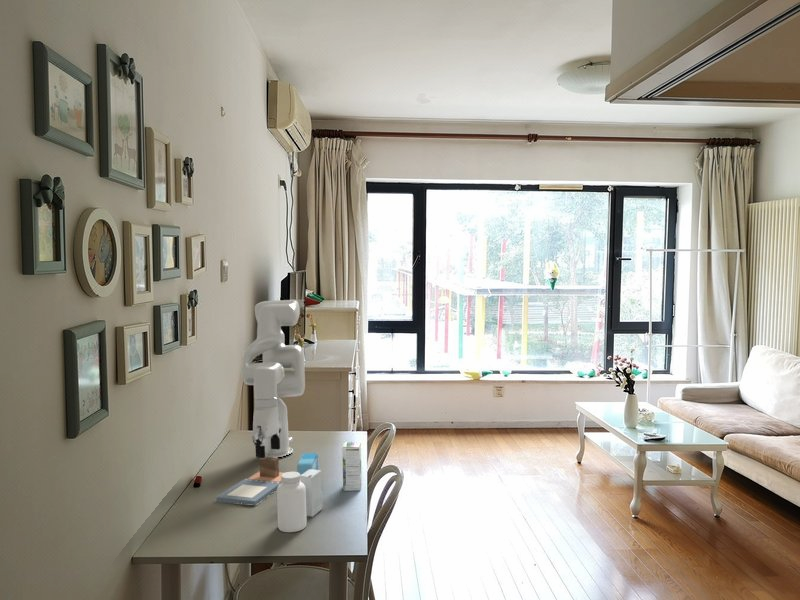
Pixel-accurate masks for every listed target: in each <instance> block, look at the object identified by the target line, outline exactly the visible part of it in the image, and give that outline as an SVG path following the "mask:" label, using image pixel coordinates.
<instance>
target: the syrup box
mask: <svg viewBox="0 0 800 600" xmlns="http://www.w3.org/2000/svg"><path fill="white" fill-rule="evenodd" d="M341 449H342V450H341V451H342V486H343V487H342V490H343V492H354V491H362V484H363V479H362V478H363V477H362V474H363V473H362V442H360V441H346V442H343V445H342V448H341Z"/></svg>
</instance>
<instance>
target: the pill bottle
mask: <svg viewBox="0 0 800 600" xmlns="http://www.w3.org/2000/svg"><path fill="white" fill-rule="evenodd" d="M283 473H284V474H282V475H281V484H280V485H279V486H278V488H277V491H276V505H277V506H276V507H277V511H276V513H277V526H278V527H277V528H278V530H279V531H280V532H284V533H295V532H299V531H302V530H304V529H305V528H306V527H307V516H306V488H305V485H304V484H303V483H302V482H300V481H301V480H300V479H301V476H300V473H298V472H297V471H287V472H283Z"/></svg>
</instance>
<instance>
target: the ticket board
mask: <svg viewBox="0 0 800 600" xmlns="http://www.w3.org/2000/svg"><path fill="white" fill-rule="evenodd" d="M280 484H281V482H273V481H263V480H253V479H248V478H243V479H242V480H240V481H239V482H237V483H236V484H234V485H232V486H231V487H230V488H228V489H226V490H225V491H223V492H222V493H220V494H218V495H217V496H216V497H215V499H216V502H217V503H223V504H233V503H239V504H238V505H242V504H253V505H256V504H257V503H259V502H260V501H261V500H263V499H264V498H266V497H267V496H268V495H270V494H271V493H272V492H274V491H275V490H277V488H278V486H279V485H280ZM275 492H276V491H275ZM275 492H274V493H275ZM271 495H272V494H271ZM271 495H270V496H271ZM267 498H268V497H267ZM267 498H266V499H267ZM263 501H264V500H263ZM241 503H242V504H241ZM259 504H260V503H259Z"/></svg>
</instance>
